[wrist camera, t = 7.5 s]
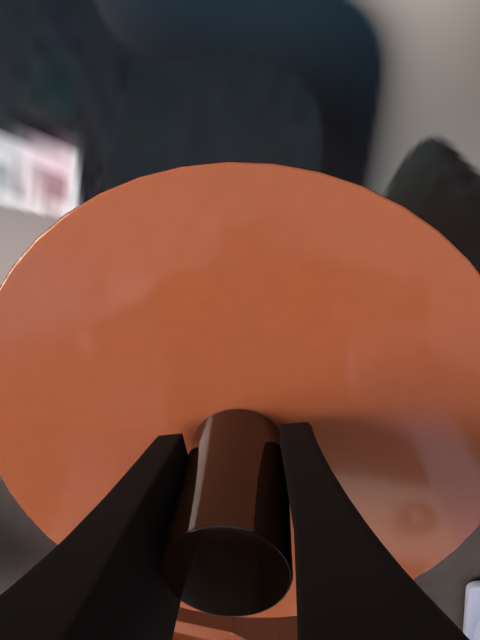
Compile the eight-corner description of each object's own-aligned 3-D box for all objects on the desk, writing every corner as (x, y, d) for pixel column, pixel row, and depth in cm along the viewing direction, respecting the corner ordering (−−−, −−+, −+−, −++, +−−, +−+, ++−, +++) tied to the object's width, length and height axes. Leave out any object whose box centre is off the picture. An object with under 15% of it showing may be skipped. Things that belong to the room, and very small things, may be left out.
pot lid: (527, 104, 8) (788, 68, 4) (485, 575, 13) (581, 769, 9) (-88, 212, 10) (-344, 264, 6) (86, 592, 15) (16, 764, 11)
